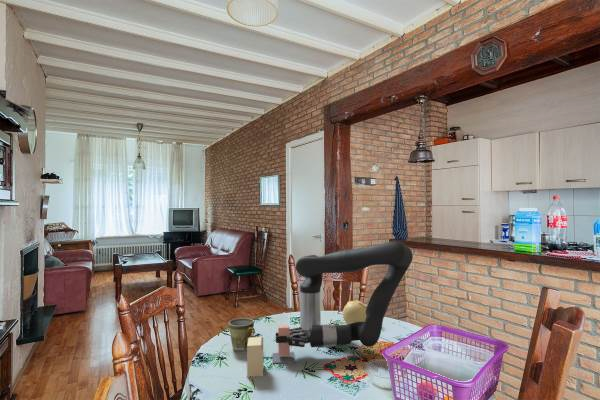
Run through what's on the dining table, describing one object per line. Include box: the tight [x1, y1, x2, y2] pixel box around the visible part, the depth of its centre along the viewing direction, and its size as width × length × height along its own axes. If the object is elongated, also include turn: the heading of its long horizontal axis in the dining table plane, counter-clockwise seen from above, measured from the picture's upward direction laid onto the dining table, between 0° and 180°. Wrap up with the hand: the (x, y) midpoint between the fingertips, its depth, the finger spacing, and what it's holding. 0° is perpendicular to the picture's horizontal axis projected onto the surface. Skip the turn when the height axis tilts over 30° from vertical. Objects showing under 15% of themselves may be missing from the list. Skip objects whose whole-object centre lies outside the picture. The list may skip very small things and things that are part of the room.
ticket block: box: [246, 336, 267, 378], centre depth 111 cm, size 6×7×10 cm
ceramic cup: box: [228, 317, 256, 351], centre depth 131 cm, size 13×10×10 cm
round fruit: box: [342, 300, 368, 325], centre depth 159 cm, size 12×12×11 cm
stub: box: [277, 324, 291, 356], centre depth 121 cm, size 4×3×10 cm
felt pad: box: [272, 351, 296, 365], centre depth 121 cm, size 8×8×1 cm
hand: (276, 337), depth 121 cm, fingers closed on stub, 3 cm apart
